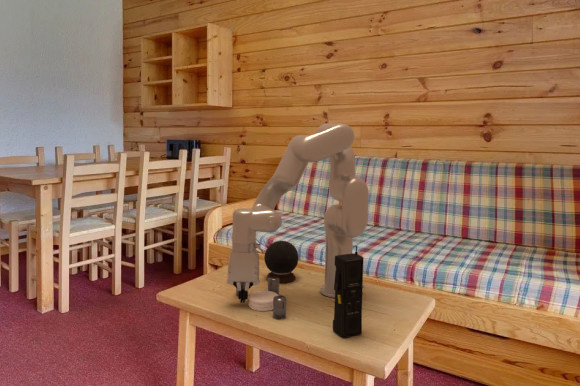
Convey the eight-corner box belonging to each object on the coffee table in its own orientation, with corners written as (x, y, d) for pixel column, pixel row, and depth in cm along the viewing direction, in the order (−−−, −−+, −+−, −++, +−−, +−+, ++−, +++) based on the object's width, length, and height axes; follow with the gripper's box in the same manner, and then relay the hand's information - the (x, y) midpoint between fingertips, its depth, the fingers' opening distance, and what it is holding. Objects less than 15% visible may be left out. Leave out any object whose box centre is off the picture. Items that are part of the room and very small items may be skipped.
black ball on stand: (284, 287, 165) (284, 247, 162) (257, 279, 173) (257, 241, 170) (304, 278, 175) (305, 240, 173) (278, 271, 183) (279, 235, 181)
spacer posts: (284, 292, 159) (284, 276, 158) (286, 319, 137) (286, 300, 136) (236, 292, 158) (236, 276, 158) (230, 319, 137) (230, 300, 136)
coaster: (253, 313, 141) (254, 303, 141) (244, 302, 150) (244, 292, 150) (283, 309, 145) (283, 299, 145) (272, 298, 154) (272, 288, 154)
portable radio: (340, 340, 125) (343, 252, 121) (328, 331, 130) (331, 247, 126) (363, 334, 128) (367, 249, 124) (351, 326, 133) (354, 244, 130)
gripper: (267, 244, 149) (265, 297, 151) (222, 243, 148) (221, 296, 151) (266, 250, 141) (265, 306, 144) (219, 249, 141) (218, 305, 143)
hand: (242, 301), depth 147 cm, fingers closed
